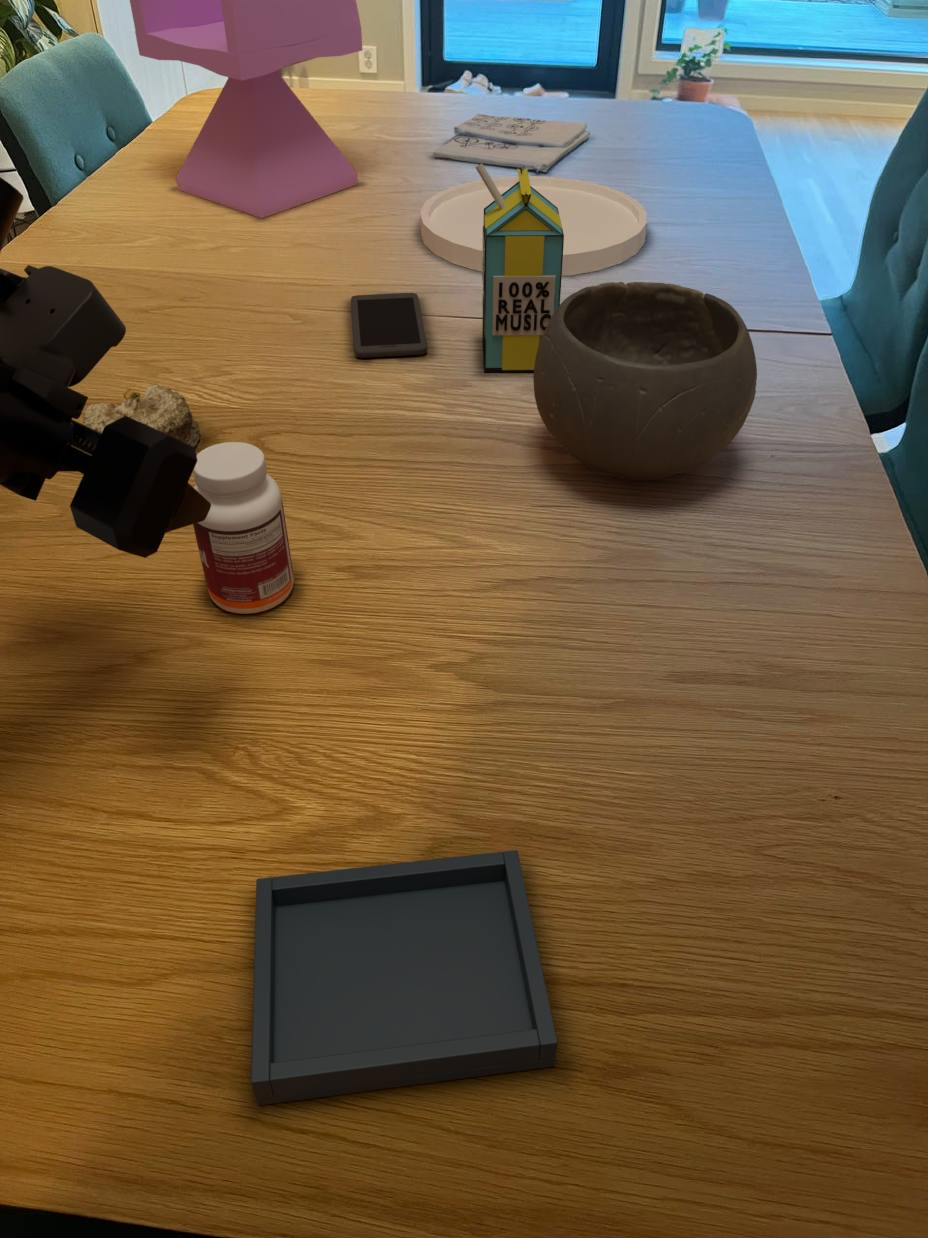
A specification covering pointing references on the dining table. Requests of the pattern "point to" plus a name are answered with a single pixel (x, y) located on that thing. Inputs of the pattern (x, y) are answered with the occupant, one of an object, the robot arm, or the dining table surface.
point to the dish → (396, 978)
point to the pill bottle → (242, 530)
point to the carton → (518, 274)
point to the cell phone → (387, 325)
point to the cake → (149, 413)
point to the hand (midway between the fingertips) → (154, 486)
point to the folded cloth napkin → (513, 141)
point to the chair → (255, 95)
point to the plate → (589, 213)
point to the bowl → (644, 378)
